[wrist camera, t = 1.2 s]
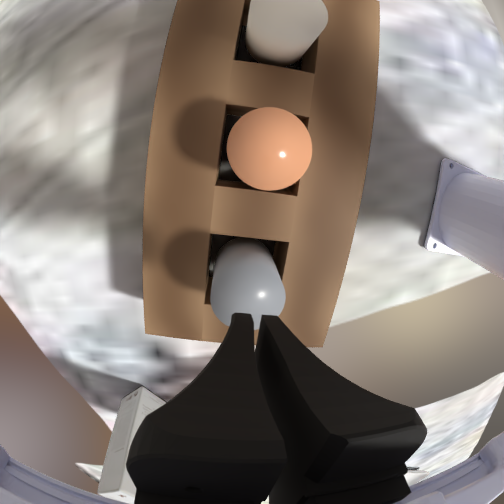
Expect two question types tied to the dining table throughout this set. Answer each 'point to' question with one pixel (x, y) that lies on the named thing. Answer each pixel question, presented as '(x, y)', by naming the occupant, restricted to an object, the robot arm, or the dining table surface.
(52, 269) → the dining table surface
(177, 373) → the dining table surface
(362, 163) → the walnut button box
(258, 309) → the slate plunger
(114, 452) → the skincare box
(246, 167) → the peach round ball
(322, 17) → the cream plunger
